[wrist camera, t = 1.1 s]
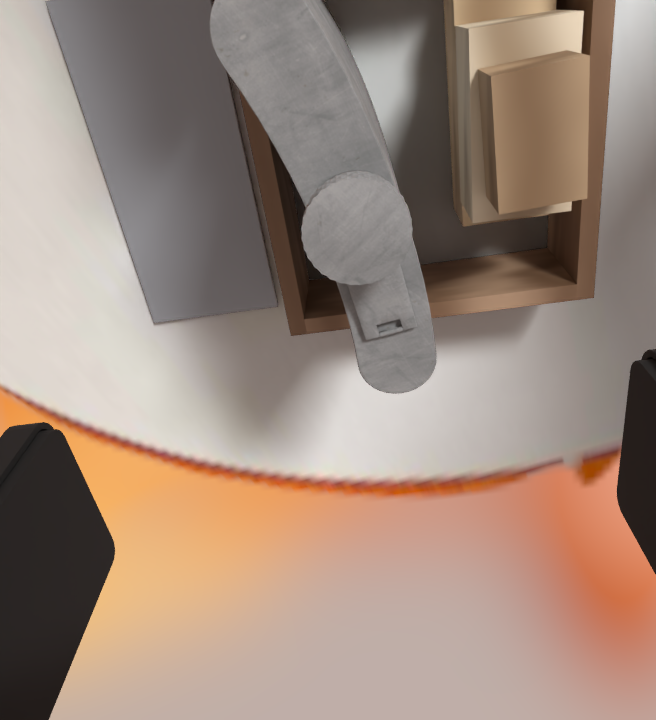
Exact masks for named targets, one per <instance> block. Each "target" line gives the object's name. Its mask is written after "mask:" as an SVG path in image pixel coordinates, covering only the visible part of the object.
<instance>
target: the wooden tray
mask: <svg viewBox="0 0 656 720" xmlns="http://www.w3.org/2000/svg"><path fill="white" fill-rule="evenodd" d="M615 1H616V0H556V10H577V11H584V17H583V33H582V49H581V53H582V54H586V55H590V77H589V132H588V187H587V199H582V200H577V201H572V206H571V211H566V212H558V213H550V215H548V240H547V248H542V249H535V250H528V251H520V252H513V253H505V254H498V255H491V256H483V257H476V258H468V259H461V260H454V261H446V262H439V263H431V264H424V265H420V267H421V271H422V275H423V279H424V283H425V288H426V292H427V297H428V302H429V306H430V313H431V318H437V317H445V316H453V315H461V314H469V313H477V312H485V311H493V310H500V309H508V308H516V307H524V306H532V305H540V304H548V303H556V302H564V301H572V300H580V299H588V298H594V288H595V274H596V261H597V247H598V233H599V219H600V206H601V192H602V178H603V165H604V151H605V137H606V124H607V110H608V96H609V83H610V69H611V55H612V42H613V28H614V14H615ZM239 93H240V98H241V102H242V107H243V112H244V116H245V121H246V126H247V131H248V135H249V140H250V145H251V149H252V154H253V159H254V164H255V168H256V173H257V178H258V183H259V187H260V192H261V197H262V201H263V206H264V211H265V216H266V220H267V225H268V230H269V234H270V239H271V244H272V249H273V253H274V258H275V263H276V267H277V272H278V277H279V282H280V286H281V291H282V296H283V300H284V305H285V310H286V315H287V319H288V324H289V329H290V333H291V336H294V335H302V334H310V333H318V332H326V331H334V330H342V329H350V324H349V321H348V318H347V314H346V311H345V307H344V304H343V301H342V298H341V295H340V292H339V289H338V286H337V283H336V281H335V280H331V279H329V278H320V279H313V280H309V275H308V270H307V264H306V259H305V254H304V248H303V243H302V239H301V232H300V227H299V221H298V216H297V210H296V205H295V199H294V194H293V189H292V183H291V178H290V174H289V173H288V171H287V169H286V167H285V165H284V163H283V161H282V160H281V158H280V156H279V154H278V152H277V150H276V149H275V147H274V145H273V143H272V142H271V140H270V138H269V136H268V135H267V133H266V131H265V130H264V128H263V126H262V124H261V123H260V121H259V119H258V118H257V116H256V115H255V113H254V112H253V110H252V108H251V107H250V105H249V104H248V102H247V101H246V99H245V98H244V96H243V95H242V93H241V91H240V90H239Z"/></svg>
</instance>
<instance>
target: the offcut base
mask: <svg viewBox="0 0 656 720" xmlns="http://www.w3.org/2000/svg"><path fill="white" fill-rule="evenodd" d="M443 3H444V23H445V43H446V64H447V84H448V104H449V124H450V144H451V165H452V185H453V205H454V210H455V212H456V214H457V216H458V218H459V220H460V222H461V224H462V226H463V227H465V226H472V225H479V224H486V223H493V222H501V221H508V220H515V219H522V218H530V217H537V216H544V215H550V214H542V215H534V216H526V217H518V218H510V219H503V220H495V221H487V222H479V223H472V221H471V219H470V217H469V216H468V214H467V212H466V210H465V208H464V207H463V205H462V203H461V200H460V168H459V135H458V102H457V68H456V35H455V26H456V25H462V24H469V23H475V22H481V21H488V20H494V19H501V18H507V17H513V16H520V15H526V14H532V13H539V12H545V11H551V10H556V0H443Z"/></svg>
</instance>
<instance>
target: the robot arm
mask: <svg viewBox="0 0 656 720" xmlns="http://www.w3.org/2000/svg"><path fill="white" fill-rule="evenodd" d="M617 499H618V503H619V507H620V510H621V512H622V514H623V516H624V518H625V520H626V522H627V523H628V525H629V527H630V529H631V531H632V532H633V534H634V536H635V538H636V539H637V542H638V543H639V545H640V547H641V549H642V551H643V552H644V554H645V556H646V558H647V559H648V562H649V563H650V565H651V567H652V569H653V571H654V572H655V574H656V349H653V350H648V351H646V352H645V353H644V355H643V357H642V360H639V361H635V362H633V364H632V366H631V370H630V379H629V388H628V396H627V405H626V414H625V423H624V432H623V440H622V449H621V458H620V467H619V475H618V485H617ZM114 555H115V547H114V542H113V539H112V536H111V534H110V532H109V530H108V528H107V526H106V524H105V522H104V519H103V517H102V515H101V513H100V511H99V509H98V507H97V504H96V502H95V500H94V498H93V496H92V494H91V492H90V489H89V487H88V485H87V483H86V481H85V479H84V477H83V475H82V472H81V470H80V468H79V466H78V464H77V462H76V460H75V457H74V455H73V453H72V451H71V449H70V447H69V445H68V443H67V441H66V438H65V436H64V435H63V433H62V432H61V431H60V430H57V429H55V430H54V429H53V427H52V426H51V425H50V424H48V423H45V422H42V423H35V424H26V425H17V426H12V427H9V428H8V429H7V430H6V431H5V432H4V433H3V435H2V436H1V437H0V720H49V717H50V715H51V712H52V710H53V707H54V705H55V703H56V700H57V698H58V695H59V693H60V690H61V688H62V686H63V683H64V681H65V678H66V676H67V673H68V671H69V668H70V666H71V664H72V661H73V659H74V656H75V654H76V651H77V649H78V646H79V644H80V642H81V639H82V637H83V634H84V632H85V629H86V627H87V624H88V622H89V620H90V617H91V615H92V612H93V610H94V607H95V605H96V602H97V600H98V597H99V595H100V592H101V590H102V587H103V585H104V583H105V580H106V578H107V576H108V573H109V571H110V568H111V566H112V563H113V560H114Z"/></svg>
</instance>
